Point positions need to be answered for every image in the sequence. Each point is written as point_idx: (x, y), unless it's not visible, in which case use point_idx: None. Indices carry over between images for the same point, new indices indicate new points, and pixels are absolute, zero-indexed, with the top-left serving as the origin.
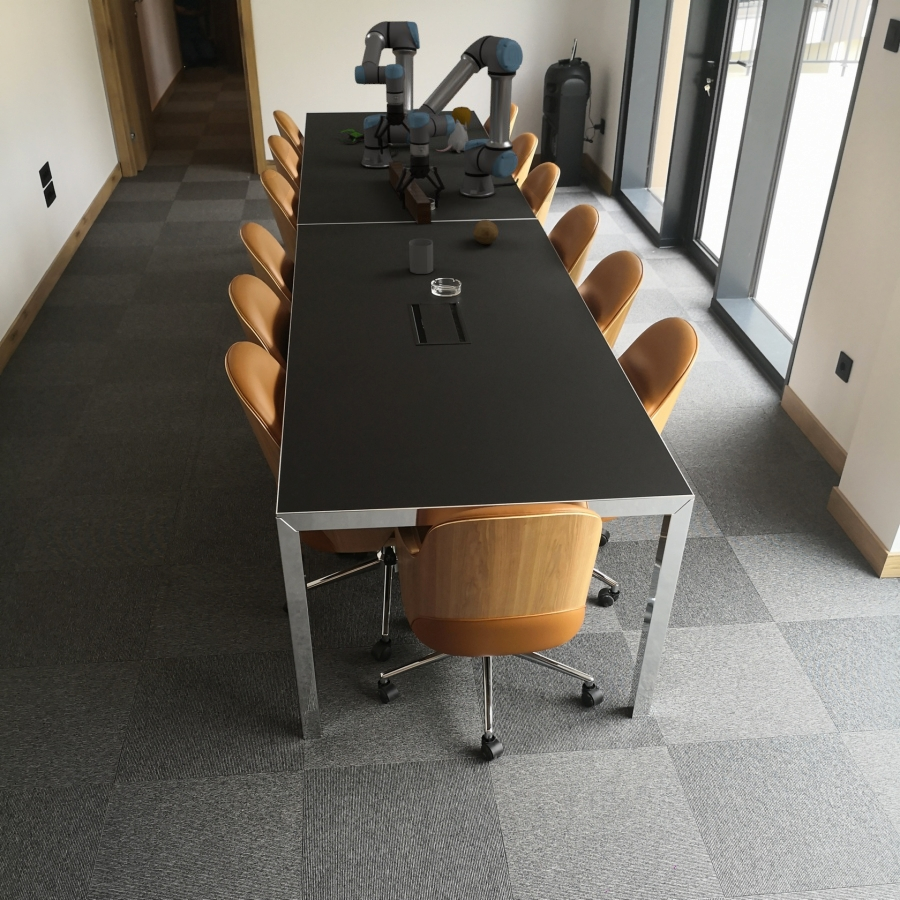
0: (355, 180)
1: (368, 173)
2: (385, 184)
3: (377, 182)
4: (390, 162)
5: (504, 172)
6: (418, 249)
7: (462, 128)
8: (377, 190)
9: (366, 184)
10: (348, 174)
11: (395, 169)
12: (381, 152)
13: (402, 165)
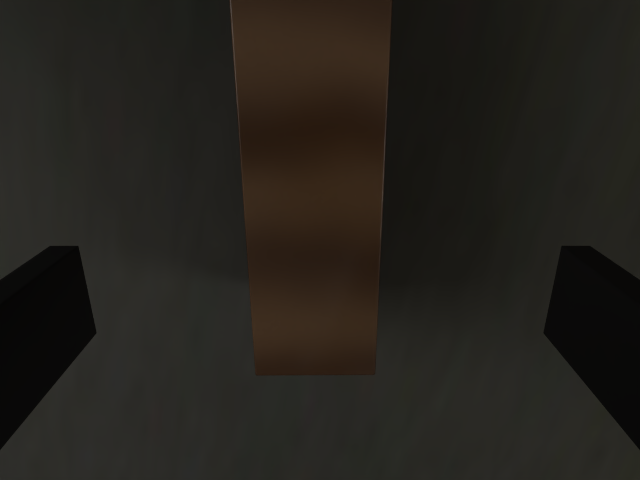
0: None
1: (452, 469)
2: (407, 214)
3: (452, 276)
4: (359, 368)
5: None
6: None
7: None
8: (517, 56)
9: (545, 244)
10: (577, 473)
11: (367, 77)
12: (606, 258)
13: (254, 234)
